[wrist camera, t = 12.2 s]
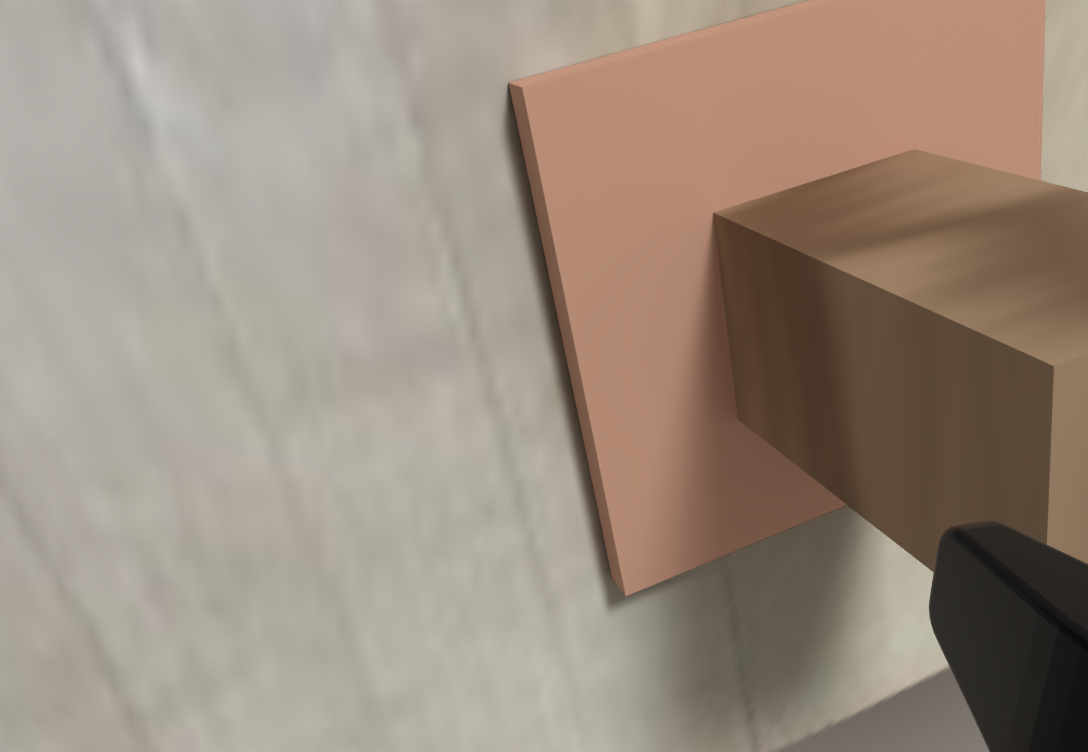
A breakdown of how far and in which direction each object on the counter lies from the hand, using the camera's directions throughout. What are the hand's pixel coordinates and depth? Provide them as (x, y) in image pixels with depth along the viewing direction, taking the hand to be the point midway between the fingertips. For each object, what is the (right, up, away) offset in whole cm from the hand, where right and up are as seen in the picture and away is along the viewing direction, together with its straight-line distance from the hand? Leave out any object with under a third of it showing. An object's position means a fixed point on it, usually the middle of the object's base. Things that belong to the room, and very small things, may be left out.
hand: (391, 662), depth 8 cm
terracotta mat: (+7, +4, +15) cm, 18 cm away
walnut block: (+7, +4, +15) cm, 17 cm away
